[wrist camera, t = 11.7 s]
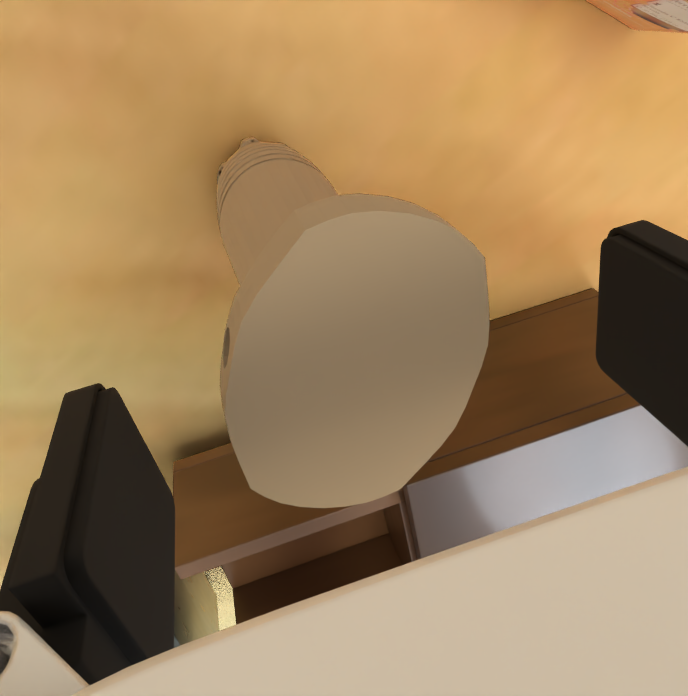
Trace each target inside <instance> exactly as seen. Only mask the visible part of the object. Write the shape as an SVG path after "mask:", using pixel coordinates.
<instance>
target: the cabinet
mask: <svg viewBox="0 0 688 696" xmlns="http://www.w3.org/2000/svg"><path fill="white" fill-rule="evenodd" d="M598 294H599V292H598V291H596V290H595V289H593V288H592V289H589V290H586V291H583V292H580V293H577V294H574V295H571V296H567V297H564V298H561V299H558V300H555V301H552V302H549V303H546V304H543V305H539V306H536V307H533V308H530V309H527V310H524V311H521V312H518V313H514V314H511V315H508V316H505V317H502V318H499V319H496V320H493V321H490V324H489V339H488V347H487V350H486V354H485V357H484V360H483V364H482V367H481V370H480V372H479V375H478V377H477V380H476V382H475V385H474V387H473V390H472V392H471V395H470V397H469V400H468V402H467V405H466V407H465V410H464V411H463V413H462V415H461V417H460V419H459V421H458V423H457V425H456V427H455V429H454V430H453V431H452V433H451V434H450V435H449V436H448V438H447V439H446V440H445V442H444V443H443V444H442V446H441V447H440V448H439V449H438V450H437V451H436V452H435V453H434V454H433V455H432V456H431V458H430V459H429V460H428V461H427V462H426V463H425V464H424V465H423V466H422V467H421V468H420V469H419V470H418V471H417V472H416V473H415V474H414V476H413V477H412V478H411V479H410V480H409V481H408V482H407V483H406V484H405V485H404V486H403V491H404V496H405V501H406V505H407V510H408V515H409V520H410V525H411V530H412V534H413V539H414V544H415V549H416V554H417V559H418V560H419V559H422V558H424V557H427V556H430V555H433V554H436V553H439V552H441V551H444V550H447V549H450V548H453V547H456V546H459V545H462V544H464V543H467V542H470V541H473V540H476V539H479V538H482V537H485V536H487V535H490V534H493V533H496V532H499V531H502V530H505V529H508V528H511V527H513V526H516V525H519V524H522V523H525V522H528V521H531V520H534V519H536V518H539V517H542V516H545V515H548V514H551V513H554V512H557V511H560V510H563V509H565V508H568V507H571V506H574V505H577V504H580V503H583V502H586V501H589V500H591V499H594V498H597V497H600V496H603V495H606V494H609V493H612V492H615V491H618V490H620V489H623V488H626V487H629V486H632V485H635V484H638V483H641V482H644V481H647V480H650V479H653V478H656V477H659V476H662V475H664V474H667V473H670V472H673V471H676V470H679V469H682V468H685V467H688V446H686V445H685V444H684V443H683V442H682V441H681V440H680V439H679V438H677V437H676V436H675V435H674V434H673V433H672V432H671V431H670V430H668V429H667V428H666V427H665V426H664V425H663V424H662V423H661V422H659V421H658V420H657V419H656V418H655V417H654V416H653V415H651V414H650V413H649V412H648V411H647V410H646V409H645V408H644V407H642V406H641V405H640V404H639V403H638V402H637V401H636V400H635V399H633V398H632V397H631V396H630V395H629V394H628V393H627V392H625V391H624V390H623V389H622V388H621V387H620V386H619V385H618V384H616V383H615V382H614V381H613V380H612V379H611V378H610V377H609V376H607V375H606V374H605V373H604V372H603V371H602V370H601V368H600V367H599V365H598V363H597V360H596V334H597V314H598Z"/></svg>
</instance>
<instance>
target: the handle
mask: <svg viewBox="0 0 688 696" xmlns="http://www.w3.org/2000/svg"><path fill="white" fill-rule="evenodd" d="M217 185H218V186H217V215H218V223H219V228H220V233H221V238H222V241H223V245H224V247H225V250H226V252H227V255H228V257H229V260H230V262H231V264H232V267H233V269H234V272H235V274H236V277H237V279H238V282H239V284H240V287H239V289H238V291H237V293H236V294H235V296H234V299H233V302H232V306H231V309H230V312H229V316H228V320H227V324H226V328H225V336H224V344H223V352H222V360H221V371H220V389H221V398H222V405H223V410H224V416H225V420H226V425H227V429H228V433H229V438H230V441H231V443H232V446H233V448H234V451H235V454H236V456H237V459H238V461H239V463H240V466H241V468H242V470H243V473H244V475H245V477H246V479H247V482H248V484H249V486H250V488H251V489H252V490H254V491H255V492H257V493H259V494H261V495H262V496H264V497H266V498H269V499H271V500H274V501H276V502H279V503H282V504H288V505H293V506H298V507H311V508H333V507H346V506H352V505H357V504H362V503H367V502H370V501H373V500H376V499H379V498H381V497H384V496H386V495H389V494H391V493H393V492H395V491H397V490H399V489H401V488H402V487H403V486H404V485H405V484H406V483H407V482H408V481H409V480H410V479H411V478H412V477H413V476H414V474H415V473H416V472H417V471H418V470H419V469H420V468H421V467H422V466H423V465H424V464H425V463H426V462H427V461H428V460H429V459H430V458H431V456H432V455H433V454H434V453H435V452H436V451H437V450H438V449H439V448H440V447H441V446H442V444H443V443H444V442H445V440H446V439H447V438H448V436H449V435H450V434H451V433H452V431H453V430H454V429H455V427H456V425H457V423H458V421H459V419H460V417H461V415H462V413H463V411H464V410H465V407H466V405H467V402H468V400H469V397H470V395H471V392H472V390H473V387H474V385H475V382H476V380H477V377H478V375H479V372H480V370H481V367H482V364H483V360H484V357H485V354H486V350H487V347H488V339H489V324H490V320H489V301H488V287H487V276H486V264H485V257H484V256H483V255H482V254H481V252H480V251H479V250H478V249H477V248H476V246H475V245H474V244H473V243H472V242H471V241H469V240H468V239H467V238H466V237H465V236H464V235H462V234H461V233H460V232H459V231H458V230H456V229H455V228H454V227H453V226H451V225H450V224H449V223H448V222H446V221H445V220H444V219H442V218H441V217H440V216H438V215H436V214H434V213H432V212H430V211H428V210H426V209H424V208H422V207H420V206H418V205H416V204H414V203H411V202H407V201H403V200H400V199H396V198H392V197H389V196H379V195H369V194H348V195H338V194H337V193H336V191H335V189H334V188H333V186H332V185H331V184H330V182H329V181H328V180H327V179H326V177H325V176H324V175H323V174H322V173H321V172H320V170H319V169H318V168H317V167H316V166H315V165H314V164H313V163H312V162H311V161H309V160H308V159H307V158H305V157H304V156H302V155H301V154H299V153H298V152H297V151H295V150H293V149H291V148H289V147H288V146H286V145H285V144H283V143H279V142H277V143H272V142H261V141H259V140H257V139H256V138H254V137H249V138H246V139H243V140H242V141H241V144H240V147H239V149H238V150H237V151H236V152H235V153H234V154H233V155H232V156H231V157H230V158H229V159H228V160H227V162H223V163H222V164H221V165H220V167H219V170H218V174H217Z"/></svg>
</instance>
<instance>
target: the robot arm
mask: <svg viewBox="0 0 688 696" xmlns="http://www.w3.org/2000/svg"><path fill="white" fill-rule="evenodd" d="M596 360H597V363H598V365H599V367H600V368H601V370H602V371H603V372H604V373H605V374H606V375H607V376H609V377H610V378H611V379H612V380H613V381H614V382H615V383H616V384H618V385H619V386H620V387H621V388H622V389H623V390H624V391H625V392H627V393H628V394H629V395H630V396H631V397H632V398H633V399H635V400H636V401H637V402H638V403H639V404H640V405H641V406H642V407H644V408H645V409H646V410H647V411H648V412H649V413H650V414H651V415H653V416H654V417H655V418H656V419H657V420H658V421H659V422H661V423H662V424H663V425H664V426H665V427H666V428H667V429H668V430H670V431H671V432H672V433H673V434H674V435H675V436H676V437H677V438H679V439H680V440H681V441H682V442H683V443H684V444H685V445H686V446H688V240H686V239H684V238H682V237H679V236H677V235H675V234H673V233H671V232H669V231H667V230H665V229H663V228H661V227H659V226H657V225H654V224H652V223H650V222H648V221H645V220H641V221H637V222H634V223H630V224H627V225H624V226H620V227H617V228H614V229H612V230H611V231H610V232H609V234H608V237H607V238H606V239H605V240H604V241H603V242H602V244H601V255H600V274H599V294H598V314H597V334H596ZM174 598H175V504H174V499H173V496H172V493H171V491H170V489H169V487H168V485H167V483H166V481H165V479H164V477H163V476H162V474H161V472H160V470H159V468H158V466H157V464H156V462H155V460H154V459H153V457H152V455H151V453H150V451H149V449H148V447H147V445H146V443H145V442H144V440H143V438H142V436H141V434H140V432H139V430H138V428H137V426H136V425H135V423H134V421H133V419H132V417H131V415H130V413H129V411H128V410H127V408H126V406H125V404H124V402H123V400H122V398H121V396H120V394H119V393H118V391H117V390H116V389H115V388H113V387H112V388H109V389H105V387H104V386H103V385H102V384H100V383H97V384H94V385H91V386H87V387H84V388H81V389H77V390H74V391H71V392H68V393H65V395H64V398H63V401H62V404H61V408H60V411H59V415H58V418H57V422H56V425H55V428H54V432H53V435H52V439H51V442H50V445H49V449H48V452H47V456H46V459H45V463H44V466H43V469H42V473H41V476H40V478H39V479H38V480H36V481H35V482H34V484H33V486H32V488H31V491H30V494H29V497H28V500H27V504H26V507H25V510H24V514H23V517H22V520H21V523H20V527H19V530H18V533H17V537H16V540H15V543H14V546H13V550H12V553H11V556H10V560H9V563H8V566H7V569H6V573H5V576H4V579H3V583H2V586H1V589H0V696H688V467H685V468H682V469H679V470H676V471H673V472H670V473H667V474H664V475H662V476H659V477H656V478H653V479H650V480H647V481H644V482H641V483H638V484H635V485H632V486H629V487H626V488H623V489H620V490H618V491H615V492H612V493H609V494H606V495H603V496H600V497H597V498H594V499H591V500H589V501H586V502H583V503H580V504H577V505H574V506H571V507H568V508H565V509H563V510H560V511H557V512H554V513H551V514H548V515H545V516H542V517H539V518H536V519H534V520H531V521H528V522H525V523H522V524H519V525H516V526H513V527H511V528H508V529H505V530H502V531H499V532H496V533H493V534H490V535H487V536H485V537H482V538H479V539H476V540H473V541H470V542H467V543H464V544H462V545H459V546H456V547H453V548H450V549H447V550H444V551H441V552H439V553H436V554H433V555H430V556H427V557H424V558H422V559H419V560H416V561H413V562H410V563H407V564H405V565H402V566H399V567H396V568H393V569H390V570H388V571H385V572H382V573H379V574H376V575H373V576H371V577H368V578H365V579H362V580H359V581H356V582H354V583H351V584H348V585H345V586H342V587H339V588H336V589H334V590H331V591H328V592H325V593H322V594H319V595H317V596H314V597H311V598H308V599H305V600H302V601H300V602H297V603H294V604H291V605H288V606H285V607H283V608H280V609H277V610H275V611H272V612H269V613H267V614H264V615H261V616H258V617H256V618H253V619H250V620H248V621H245V622H242V623H240V624H237V625H234V626H231V627H229V628H226V629H223V630H221V631H218V632H215V633H213V634H210V635H207V636H204V637H202V638H199V639H196V640H194V641H191V642H188V643H186V644H183V645H180V646H178V647H175V648H174Z"/></svg>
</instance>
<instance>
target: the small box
mask: <svg viewBox="0 0 688 696" xmlns="http://www.w3.org/2000/svg"><path fill="white" fill-rule="evenodd" d="M586 1H588V2H589V3H591V4H593V5H594V6H596V7H598V8H599V9H601V10H602V11H604V12H606V13H607V14H609V15H611V16H612V17H614V18H616V19H617V20H619V21H620V22H622V23H624V24H625V25H627V26H628V27H630V28H632V29H634V30H643V31H664V32H679V33H688V0H586Z"/></svg>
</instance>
